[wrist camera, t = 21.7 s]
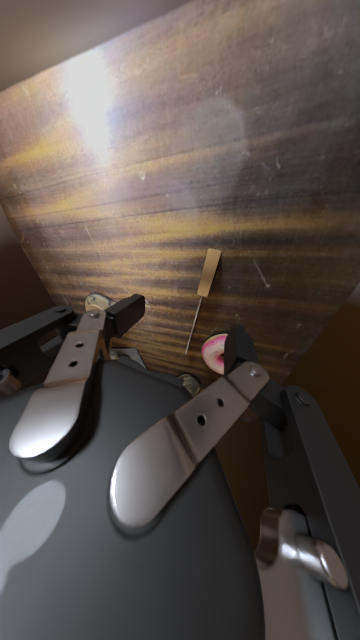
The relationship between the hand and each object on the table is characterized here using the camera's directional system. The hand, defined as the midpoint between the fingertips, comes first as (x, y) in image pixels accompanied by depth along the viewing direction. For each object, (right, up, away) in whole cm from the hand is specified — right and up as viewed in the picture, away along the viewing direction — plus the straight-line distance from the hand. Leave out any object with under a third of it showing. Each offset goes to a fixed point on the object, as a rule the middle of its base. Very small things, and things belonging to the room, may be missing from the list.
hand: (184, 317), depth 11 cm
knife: (+4, +2, +22) cm, 23 cm away
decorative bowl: (-26, +3, +33) cm, 43 cm away
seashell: (+2, -25, +40) cm, 47 cm away
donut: (+13, -8, +26) cm, 30 cm away
